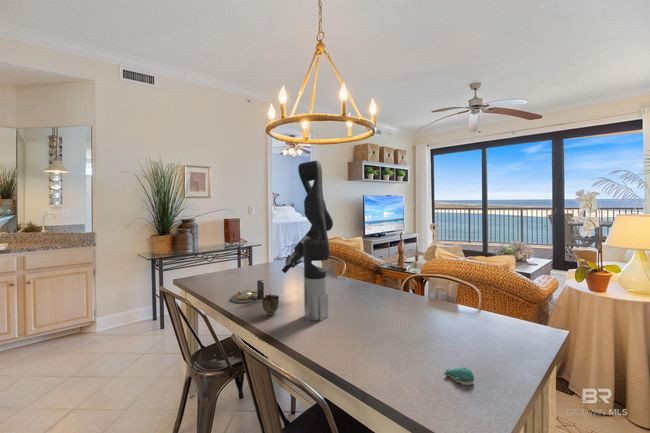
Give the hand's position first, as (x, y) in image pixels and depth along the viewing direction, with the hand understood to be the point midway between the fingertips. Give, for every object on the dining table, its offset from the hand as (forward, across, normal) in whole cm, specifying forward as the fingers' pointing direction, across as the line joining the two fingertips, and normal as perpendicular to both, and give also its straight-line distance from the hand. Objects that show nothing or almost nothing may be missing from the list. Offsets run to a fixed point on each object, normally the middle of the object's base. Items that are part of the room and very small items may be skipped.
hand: (283, 271), depth 157 cm
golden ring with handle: (+19, -6, -2) cm, 20 cm away
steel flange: (+21, -9, -2) cm, 23 cm away
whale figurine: (0, +93, +18) cm, 94 cm away
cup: (+20, +20, -1) cm, 28 cm away
